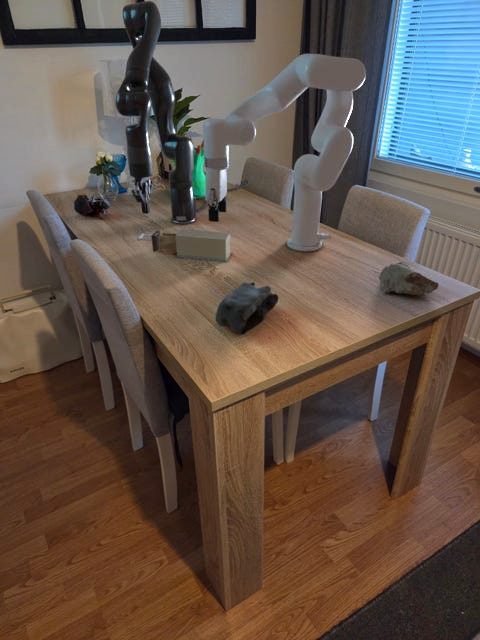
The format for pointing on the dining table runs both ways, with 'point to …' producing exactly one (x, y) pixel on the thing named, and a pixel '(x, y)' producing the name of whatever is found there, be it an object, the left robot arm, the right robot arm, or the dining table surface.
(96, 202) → the toy
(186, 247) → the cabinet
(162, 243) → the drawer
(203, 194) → the toy
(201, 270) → the dining table surface
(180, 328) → the dining table surface
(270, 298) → the rock
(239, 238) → the dining table surface
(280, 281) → the dining table surface
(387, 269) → the artifact
